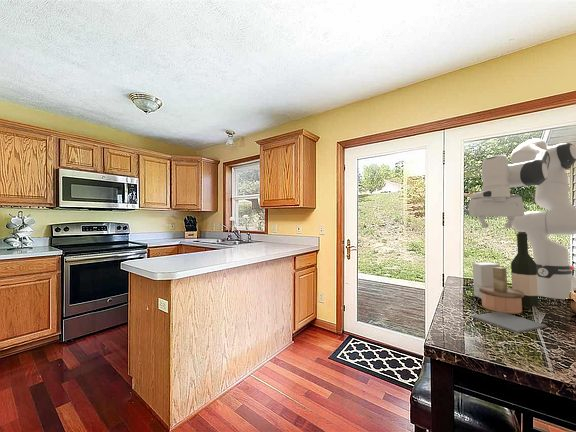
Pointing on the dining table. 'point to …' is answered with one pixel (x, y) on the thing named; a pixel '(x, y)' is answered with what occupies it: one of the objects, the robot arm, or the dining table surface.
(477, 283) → the skincare box
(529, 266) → the wine bottle
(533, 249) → the robot arm
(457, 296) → the dining table surface
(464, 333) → the dining table surface
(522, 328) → the mat
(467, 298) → the dining table surface
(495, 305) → the bowl
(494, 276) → the lid
